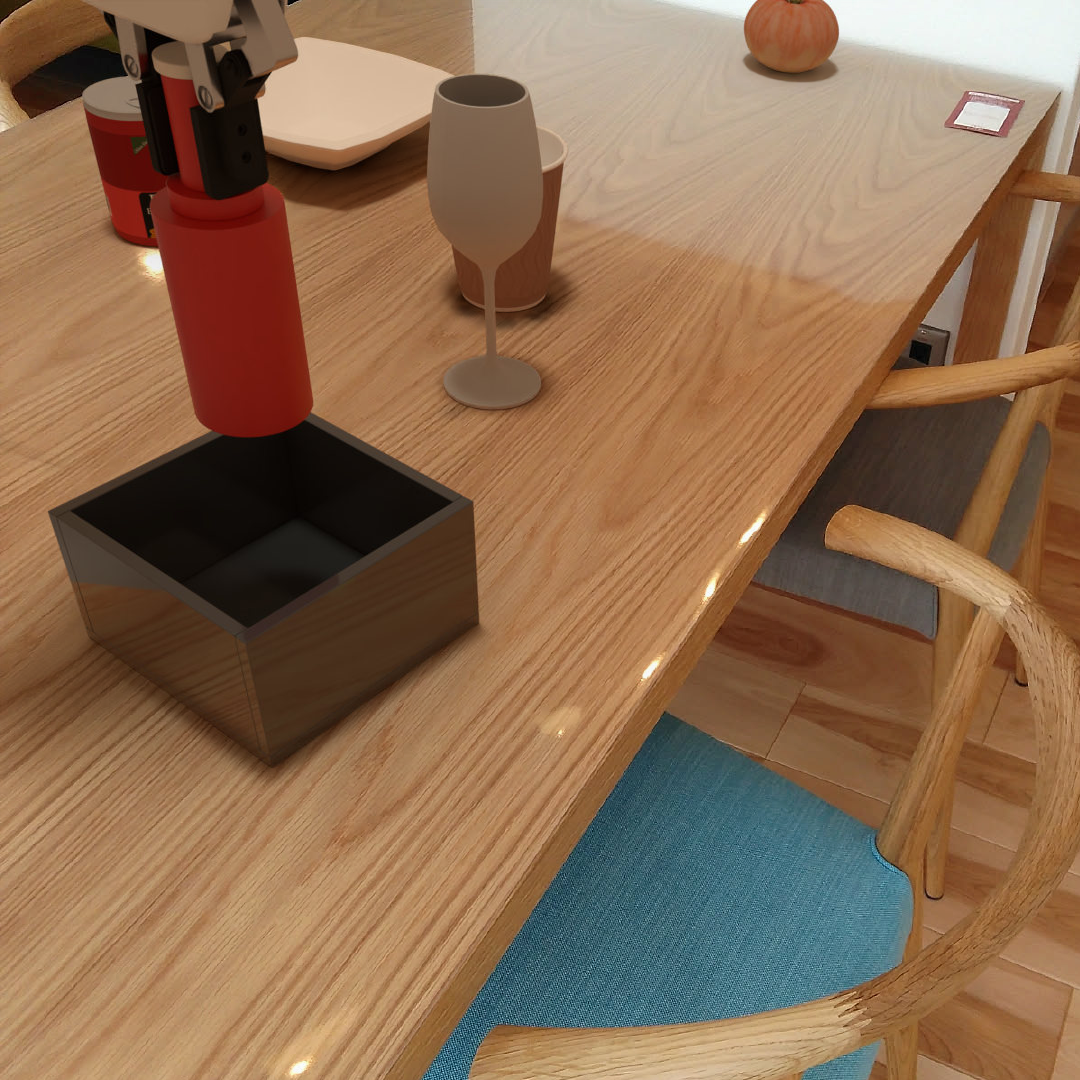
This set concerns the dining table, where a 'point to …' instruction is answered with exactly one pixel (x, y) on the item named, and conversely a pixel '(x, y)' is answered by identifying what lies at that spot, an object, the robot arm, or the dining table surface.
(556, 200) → the coffee cup
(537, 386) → the wineglass
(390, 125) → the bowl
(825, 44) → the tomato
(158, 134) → the robot arm
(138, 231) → the canned food
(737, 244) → the dining table surface
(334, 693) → the dark square storage bin
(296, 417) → the bottle
